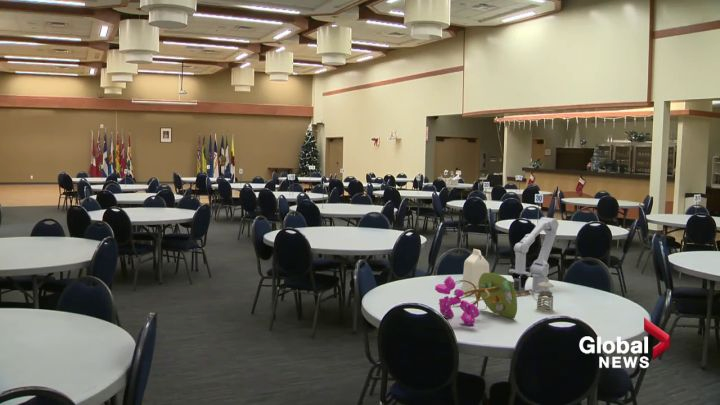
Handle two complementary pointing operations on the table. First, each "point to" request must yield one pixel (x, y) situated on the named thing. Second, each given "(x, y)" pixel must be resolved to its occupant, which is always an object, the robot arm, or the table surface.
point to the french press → (544, 298)
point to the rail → (520, 293)
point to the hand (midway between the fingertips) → (519, 286)
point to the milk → (474, 270)
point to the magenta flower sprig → (492, 291)
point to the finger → (518, 285)
